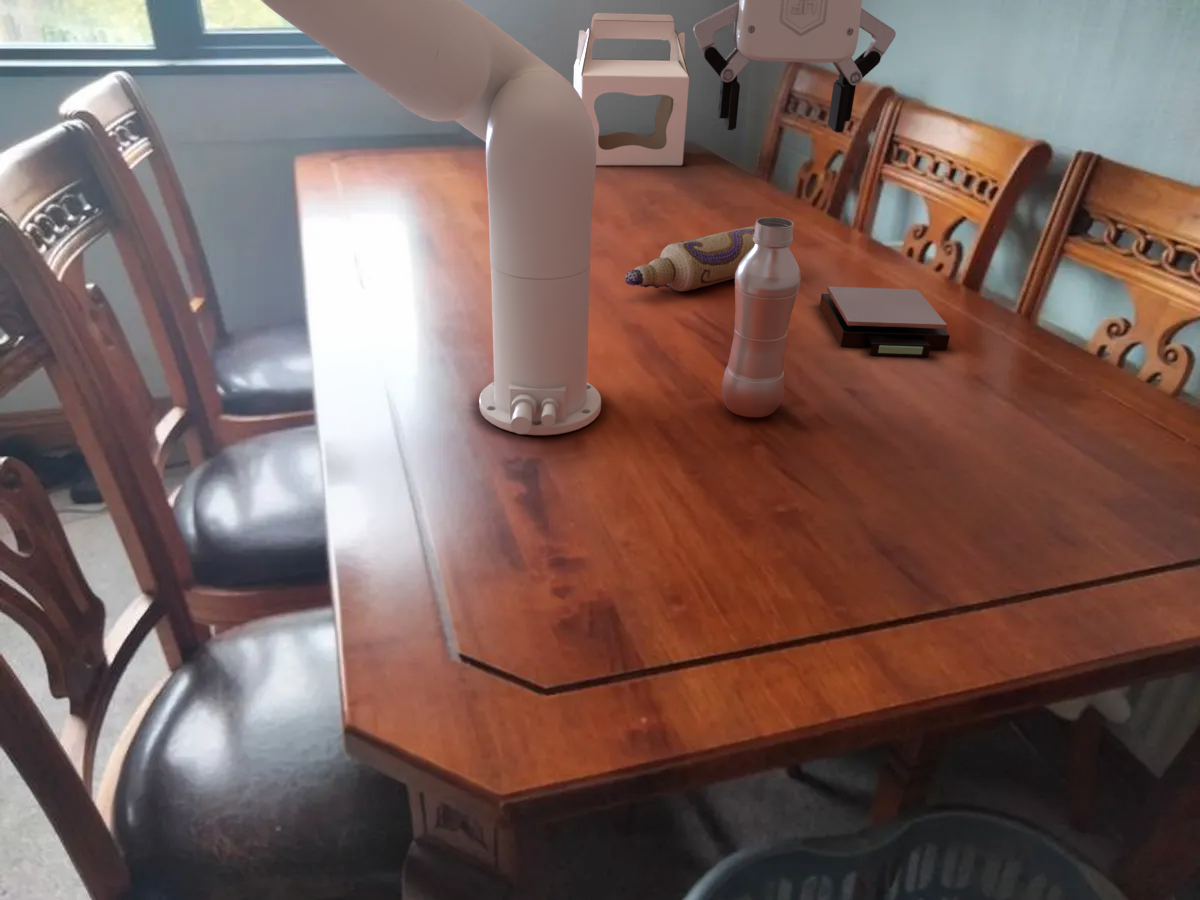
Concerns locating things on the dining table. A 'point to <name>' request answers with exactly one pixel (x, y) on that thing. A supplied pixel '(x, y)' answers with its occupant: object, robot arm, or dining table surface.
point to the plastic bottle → (761, 320)
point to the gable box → (636, 88)
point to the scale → (884, 321)
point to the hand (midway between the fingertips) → (782, 128)
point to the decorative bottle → (696, 261)
